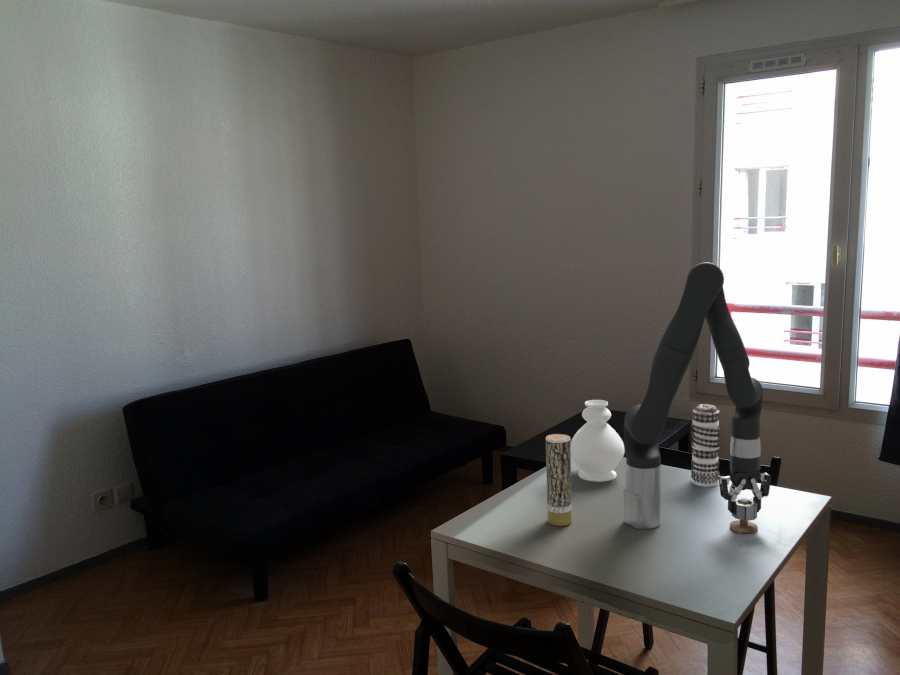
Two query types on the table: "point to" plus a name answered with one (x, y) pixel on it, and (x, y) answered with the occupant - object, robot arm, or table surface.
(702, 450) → the decorative candle
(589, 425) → the decorative vase
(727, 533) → the table surface
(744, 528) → the wooden peg stand
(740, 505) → the ring
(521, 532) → the table surface
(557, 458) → the paper tube
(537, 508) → the table surface
